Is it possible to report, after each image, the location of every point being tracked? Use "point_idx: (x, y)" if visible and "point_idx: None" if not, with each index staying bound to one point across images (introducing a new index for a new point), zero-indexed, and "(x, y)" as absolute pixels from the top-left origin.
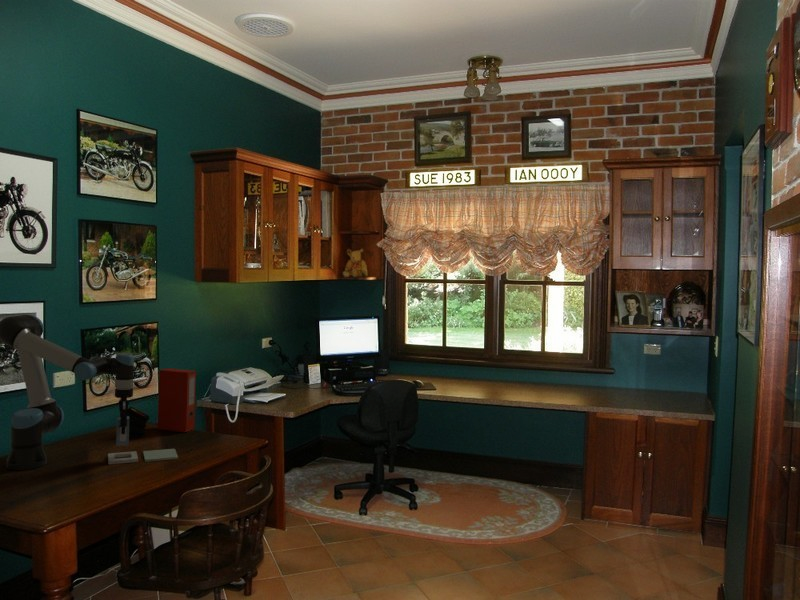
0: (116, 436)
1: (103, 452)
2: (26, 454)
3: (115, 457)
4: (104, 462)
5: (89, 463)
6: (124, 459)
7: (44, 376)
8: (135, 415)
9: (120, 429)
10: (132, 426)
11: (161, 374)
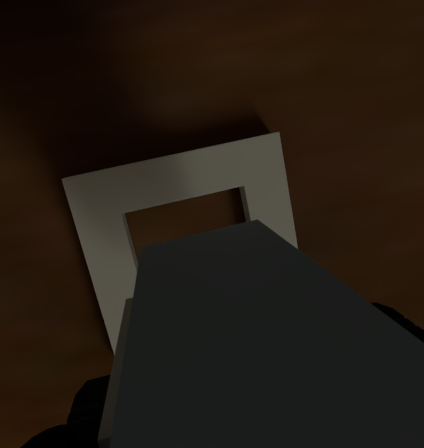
0: (263, 242)
1: (389, 76)
2: None
3: (240, 192)
4: (124, 135)
5: (103, 20)
6: (100, 290)
7: None
8: None
9: (107, 408)
10: None
11: None
